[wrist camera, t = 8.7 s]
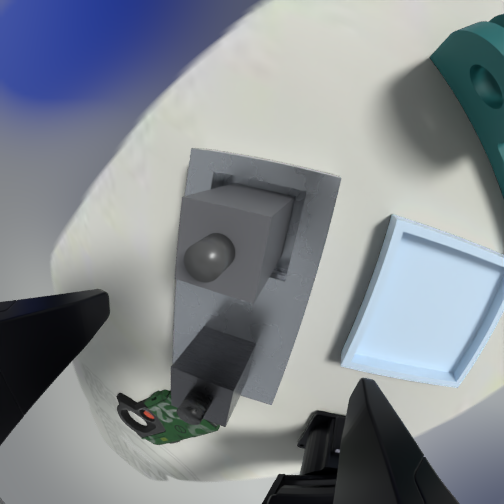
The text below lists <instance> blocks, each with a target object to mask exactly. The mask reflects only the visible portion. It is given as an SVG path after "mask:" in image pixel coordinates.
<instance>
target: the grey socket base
mask: <svg viewBox="0 0 504 504" xmlns="http://www.w3.org/2000/svg"><path fill="white" fill-rule="evenodd" d="M340 181H341V177H340V176H337V175H333V174H329V173H326V172H322V171H318V170H313V169H309V168H305V167H301V166H296V165H292V164H287V163H283V162H278V161H273V160H268V159H263V158H258V157H253V156H247V155H242V154H236V153H230V152H224V151H218V150H212V149H199V148H192V149H191V155H190V162H189V168H188V175H187V183H186V190H185V196H187V195H191V194H195V193H198V192H202V191H206V190H210V189H214V188H218V187H222V186H226V185H230V184H234V183H236V184H241V185H246V186H251V187H256V188H260V189H265V190H269V191H274V192H278V193H283V194H287V195H291V196H295V198H294V203H293V208H292V212H291V217H290V222H289V226H288V231H287V235H286V240H285V244H284V249H283V253H282V256H281V258H280V259H279V261H278V263H277V265H276V266H275V268H274V270H273V272H272V273H271V275H270V277H269V279H268V280H267V282H266V284H265V285H264V287H263V289H262V291H261V292H260V294H259V296H258V297H257V299H256V301H255V303H254V304H253V303H250V302H246V301H243V300H240V299H236V298H233V297H230V296H227V295H223V294H220V293H217V292H214V291H211V290H208V289H205V288H202V287H198V286H195V285H192V284H189V283H186V282H183V281H180V280H177V279H176V294H175V312H174V336H173V365H172V366H171V405H172V406H174V407H177V408H178V409H177V411H176V412H177V415H178V416H179V418H180V419H182V420H183V421H184V422H186V423H188V424H191V425H199V424H200V423H201V421H202V420H203V419H205V420H208V421H210V422H213V423H216V424H218V425H221V426H224V427H226V425H227V422H228V420H229V418H230V416H231V414H232V412H233V410H234V408H235V406H236V403H237V401H238V399H239V397H240V395H241V396H244V397H247V398H250V399H253V400H257V401H260V402H263V403H266V404H270V405H272V403H273V400H274V398H275V395H276V393H277V390H278V387H279V385H280V382H281V379H282V377H283V374H284V371H285V368H286V366H287V363H288V360H289V357H290V354H291V351H292V348H293V346H294V343H295V340H296V337H297V334H298V331H299V328H300V325H301V322H302V319H303V316H304V312H305V309H306V306H307V303H308V300H309V296H310V293H311V290H312V287H313V283H314V280H315V277H316V273H317V270H318V266H319V263H320V259H321V256H322V252H323V249H324V245H325V241H326V238H327V234H328V230H329V226H330V222H331V218H332V215H333V211H334V207H335V202H336V198H337V194H338V190H339V186H340Z"/></svg>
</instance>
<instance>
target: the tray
mask: <svg viewBox="0 0 504 504" xmlns="http://www.w3.org/2000/svg"><path fill="white" fill-rule="evenodd" d="M503 311H504V255H503V254H501V253H498V252H496V251H494V250H491V249H489V248H486V247H484V246H481V245H479V244H476V243H474V242H471V241H469V240H466V239H463V238H461V237H458V236H455V235H453V234H450V233H447V232H444V231H442V230H439V229H436V228H433V227H430V226H427V225H424V224H421V223H418V222H415V221H412V220H409V219H406V218H403V217H400V216H397V215H394V214H392V215H391V219H390V222H389V226H388V229H387V233H386V236H385V239H384V242H383V246H382V249H381V252H380V255H379V258H378V261H377V264H376V267H375V270H374V272H373V275H372V278H371V281H370V284H369V286H368V289H367V292H366V294H365V297H364V300H363V302H362V305H361V307H360V310H359V312H358V315H357V317H356V320H355V322H354V324H353V327H352V329H351V331H350V334H349V336H348V338H347V341H346V343H345V345H344V347H343V350H342V352H341V366H342V367H346V368H350V369H355V370H359V371H364V372H368V373H373V374H378V375H383V376H388V377H393V378H398V379H404V380H409V381H415V382H421V383H427V384H434V385H441V386H448V387H456V388H458V387H459V385H460V384H461V382H462V381H463V380H464V378H465V377H466V375H467V374H468V372H469V371H470V369H471V368H472V366H473V365H474V363H475V361H476V360H477V358H478V357H479V355H480V353H481V352H482V350H483V348H484V347H485V345H486V343H487V342H488V340H489V338H490V336H491V334H492V333H493V331H494V329H495V327H496V325H497V323H498V321H499V319H500V317H501V315H502V313H503Z"/></svg>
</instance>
